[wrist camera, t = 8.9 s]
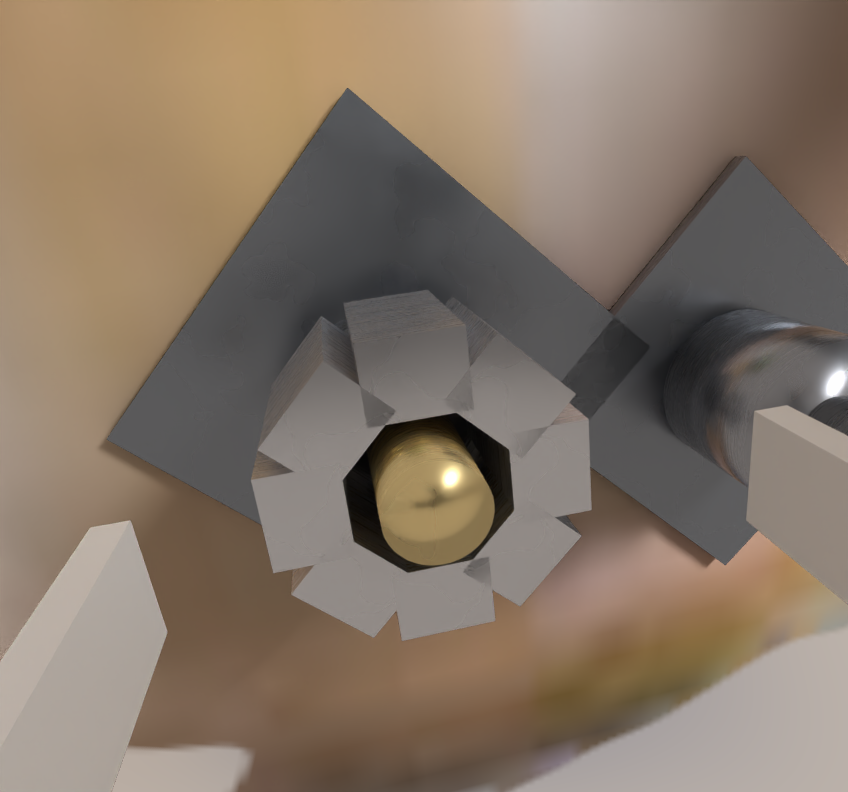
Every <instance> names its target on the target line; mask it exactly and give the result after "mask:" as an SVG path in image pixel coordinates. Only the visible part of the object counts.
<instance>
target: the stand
mask: <svg viewBox="0 0 848 792" xmlns="http://www.w3.org/2000/svg"><path fill="white" fill-rule="evenodd" d="M609 312H610V313H611V314H612V315H614V316H615V318H616V320H617V319H618V320H619V323H621V324H622V323H623V324H624V326H626V327H627V328H625V327H624V326H623V324H622V326H623V327H624V328H625V329H626V330H623V331H625V332H626V331H629V330H630V332H629V334H630V333H631V334H630V336H631V335H632V336H633V335H634V334H632V332H633V333H635V336H637V337H638V338H639V339H640V338H641V339H640V340H643V341H641V342H643V343H645V345H646V344H648V345H649V346H650V347H648V349H649V348H650V349H649V350H648V349H646V347H647V346H648V345H646V347H645V346H644V344H642V345H640V347H641V348H642V347H643V349H644V347H645V350H646V352H643V354H644V355H642V356H643V357H642V356H640V355H641V353H642V350H643V349H642V350H641V348H638V346H639V345H638V344H637V343H640V342H638V341H637V339H638V338H636V337H635V336H633V339H634V338H635V340H636V341H633V339H632V336H631V338H630V337H627V338H630V340H632V342H633V344H632V346H633V345H634V346H636V345H637V348H636V349H639V350H641V352H640V351H639V352H640V353H639V352H638V350H636V349H634V350H636V351H637V352H636V351H635V352H636V354H637V353H638V355H639V357H640V358H641V359H640V358H639V357H637V358H638V362H636V360H637V358H635V359H636V360H635V359H634V357H636V354H635V353H634V352H633V351H631V349H633V348H631V347H632V346H631V343H630V340H629V343H630V344H629V343H627V344H626V345H628V344H629V345H630V346H631V347H630V346H629V345H628V346H626V345H625V344H624V343H626V342H628V339H627V338H626V337H625V338H626V340H625V341H626V342H623V341H624V340H622V339H621V338H620V339H621V340H622V341H621V340H620V341H621V342H622V345H624V348H623V347H622V346H621V344H620V343H621V342H619V343H618V344H619V345H620V346H621V348H622V349H623V350H622V351H621V350H619V349H618V348H617V347H618V346H617V345H618V344H617V345H616V344H615V345H614V346H615V347H616V348H617V349H618V350H619V351H617V353H620V351H621V354H622V352H623V351H625V352H626V353H627V352H629V351H630V355H631V352H633V353H634V354H633V353H632V354H633V355H634V357H633V356H630V355H629V353H628V355H629V356H630V357H632V359H634V360H635V361H634V362H635V363H637V364H634V362H632V361H633V360H632V359H631V360H632V361H630V359H629V356H628V355H627V356H628V357H627V356H625V355H626V354H625V352H624V354H623V355H624V358H626V359H629V360H628V362H629V361H630V362H629V363H631V362H632V363H631V364H632V365H631V368H632V367H633V366H634V365H635V366H634V367H633V368H632V370H631V368H629V367H630V364H629V363H627V367H626V366H625V364H624V362H627V361H625V360H626V359H624V358H622V357H621V358H622V361H623V359H624V362H622V361H621V362H620V364H619V363H617V362H618V361H620V360H621V359H620V360H618V359H619V358H618V359H617V357H616V355H615V354H614V355H615V356H614V357H616V360H617V362H616V364H618V365H616V366H618V368H617V367H616V366H615V365H614V364H613V366H614V367H616V368H615V369H617V372H618V371H619V370H618V369H619V367H620V366H619V365H622V366H623V367H624V366H625V367H626V368H625V370H626V372H627V371H628V369H630V370H631V371H630V370H629V371H630V373H629V371H628V373H629V374H628V373H626V372H625V371H624V369H623V368H622V371H623V372H622V373H626V374H623V376H624V375H626V377H625V376H624V377H623V378H624V379H622V378H621V379H622V380H621V379H620V380H621V381H619V379H618V378H617V377H618V376H617V374H618V373H619V374H621V372H618V373H617V372H615V371H614V372H615V373H614V372H613V370H612V368H611V366H610V365H609V366H610V369H611V371H609V372H607V370H608V368H607V367H605V365H608V364H609V363H610V364H611V362H609V363H607V362H605V361H604V362H603V364H604V363H605V365H604V366H603V365H602V366H603V368H604V367H605V368H604V371H603V369H601V368H602V367H599V368H600V370H601V371H603V373H604V372H605V369H606V368H607V369H606V372H605V374H604V375H606V374H608V375H609V373H610V372H611V373H612V372H613V373H612V374H614V376H613V375H612V374H611V376H612V377H613V379H614V377H615V379H616V378H617V379H618V382H617V381H616V380H617V379H616V380H615V379H614V380H613V379H612V377H607V376H605V377H607V378H606V379H607V380H609V381H611V379H612V380H613V381H616V382H617V385H618V383H620V382H621V383H620V384H619V386H618V387H617V385H616V382H614V383H615V384H614V385H615V386H616V387H617V388H616V389H615V388H614V389H615V390H614V389H613V387H612V385H613V384H611V383H609V381H606V382H608V384H609V385H610V388H609V387H608V386H607V385H606V384H605V383H604V381H603V378H602V380H601V381H603V383H604V384H603V383H602V384H603V385H604V386H606V387H608V388H607V389H609V391H610V393H611V392H612V390H614V392H612V394H611V395H608V393H609V391H608V392H606V393H605V392H603V393H602V395H604V393H605V394H606V397H605V398H607V395H608V398H607V399H605V400H606V401H605V400H604V399H603V398H602V395H600V396H599V395H598V396H599V397H600V398H602V399H603V401H601V400H600V401H601V403H602V404H603V405H602V404H601V403H600V402H599V403H600V404H599V405H602V406H600V408H599V406H598V404H597V401H599V399H598V398H599V397H598V396H597V397H598V398H596V396H595V395H593V396H595V398H594V399H596V401H595V400H593V398H592V396H591V397H590V395H591V394H590V393H592V392H590V393H589V392H587V393H589V394H590V395H588V394H587V396H588V397H590V399H591V398H592V399H591V400H593V402H592V401H591V402H592V403H594V402H596V405H597V406H598V407H596V409H594V410H596V411H597V412H596V411H595V412H596V413H595V412H594V415H593V416H592V418H591V419H590V418H589V419H590V420H589V448H590V467H591V468H593V469H594V470H595V471H597V472H598V473H600V474H601V475H602V476H604V477H605V478H606V479H608V480H609V481H610V482H612V483H613V484H615V485H616V486H617V487H619V488H620V489H621V490H623V491H624V492H626V493H627V494H628V495H630V496H631V497H632V498H634V499H635V500H637V501H638V502H639V503H641V504H642V505H643V506H645V507H646V508H647V509H649V510H650V511H652V512H653V513H654V514H656V515H657V516H658V517H660V518H661V519H663V520H664V521H665V522H667V523H668V524H669V525H671V526H672V527H674V528H675V529H676V530H678V531H679V532H680V533H682V534H683V535H685V536H686V537H687V538H689V539H690V540H691V541H693V542H694V543H695V544H697V545H698V546H700V547H701V548H702V549H704V550H705V551H706V552H708V553H709V554H711V555H712V556H713V557H715V558H716V559H717V560H719V561H720V562H722V563H723V564H724V565H726V564H727V563H728V562H729V561H730V560H731V559H732V558H733V557H734V556H735V554H736V553H737V552H738V551H739V550H740V549H741V548H742V547H743V546H744V545H745V544H746V543H747V542H748V540H749V539H750V538H751V537H752V536H753V535H754V534H755V533H756V532H757V531H758V530H757V529H756V528H755V527H753V526H752V525H751V524H750V523H749V522H747V521H746V516H747V502H748V488H749V475H750V461H751V447H752V433H753V420H754V411H757V410H763V409H768V408H774V407H780V406H785V405H788V406H790V407H792V408H794V409H796V410H798V411H799V412H801V413H803V414H805V415H807V416H809V417H811V418H813V419H815V420H817V421H819V422H821V423H823V424H825V425H827V426H829V427H831V428H833V429H835V430H837V431H839V432H841V433H843V434H845V435H847V436H848V266H847V265H846V264H845V263H844V262H843V261H842V260H841V259H840V258H839V256H838V255H837V254H836V253H835V252H834V251H833V250H832V249H831V248H830V247H829V246H828V245H827V243H826V242H825V241H824V240H823V239H822V238H821V237H820V236H819V235H818V234H817V233H816V231H815V230H814V229H813V228H812V227H811V226H810V225H809V224H808V223H807V222H806V221H805V220H804V218H803V217H802V216H801V215H800V214H799V213H798V212H797V211H796V210H795V209H794V208H793V207H792V205H791V204H790V203H789V202H788V201H787V200H786V199H785V198H784V197H783V196H782V195H781V194H780V192H779V191H778V190H777V189H776V188H775V187H774V186H773V185H772V184H771V183H770V182H769V181H768V179H767V178H766V177H765V176H764V175H763V174H762V173H761V172H760V171H759V170H758V169H757V168H756V166H755V165H754V164H753V163H752V162H751V161H750V160H749V159H748V158H747V157H746V156H741V157H735V158H734V159H733V160H732V161H731V163H730V164H729V165H728V166H727V168H726V169H725V170H724V171H723V172H722V174H721V175H720V176H719V177H718V179H717V180H716V181H715V182H714V183H713V185H712V186H711V187H710V188H709V190H708V191H707V192H706V193H705V194H704V196H703V197H702V198H701V199H700V201H699V202H698V203H697V204H696V206H695V207H694V208H693V209H692V210H691V212H690V213H689V214H688V215H687V217H686V218H685V219H684V220H683V221H682V223H681V224H680V225H679V226H678V228H677V229H676V230H675V231H674V232H673V234H672V235H671V236H670V237H669V239H668V240H667V241H666V242H665V243H664V245H663V246H662V247H661V248H660V250H659V251H658V252H657V253H656V254H655V256H654V257H653V258H652V259H651V261H650V262H649V263H648V264H647V265H646V267H645V268H644V269H643V270H642V272H641V273H640V274H639V275H638V277H637V278H636V279H635V280H634V281H633V283H632V284H631V285H630V286H629V288H628V289H627V290H626V291H625V292H624V294H623V295H622V296H621V297H620V299H619V300H618V301H617V302H616V303H615V305H614V306H613V307H612V308H611V310H610V311H609ZM618 320H617V321H618ZM614 321H615V319H614ZM615 322H616V321H615ZM615 322H614V323H615ZM611 323H613V321H611V322H610V324H611ZM617 323H618V322H617ZM617 323H615V324H616V325H617V327H618V326H619V325H618V324H619V323H618V324H617ZM611 325H612V324H611ZM611 325H610V326H611ZM608 326H609V324H608ZM608 326H607V327H608ZM613 326H614V325H613ZM622 326H621V327H619V328H618V329H617V327H615V326H614V329H615V328H616V329H617V330H619V329H620V328H621V330H620V331H619V332H618V331H617V330H616V329H615V330H616V331H617V332H618V333H620V332H621V331H622V329H623V328H622ZM611 327H612V326H611ZM611 327H610V328H611ZM610 328H609V329H610ZM628 328H629V329H628ZM614 329H613V328H612V329H611V331H614V334H616V333H617V332H616V333H615V330H614ZM627 329H628V330H627ZM605 330H608V329H607V328H605ZM603 331H604V330H603ZM611 331H609V332H608V334H610V332H611ZM631 331H632V332H631ZM625 332H623V334H624V335H626V334H627V333H625ZM601 334H602V333H601ZM603 334H604V332H603ZM623 334H621V333H620V334H618V335H616V336H617V337H618V339H617V338H616V339H615V337H614V338H613V336H614V335H613V336H612V333H611V334H610V336H612V338H613V340H614V342H615V341H616V340H617V341H618V340H619V337H620V335H621V336H622V337H623V338H624V335H623ZM604 335H605V334H604ZM606 335H607V333H606ZM600 336H602V337H603V335H600ZM607 336H608V335H607ZM607 336H604V337H605V341H604V342H605V343H604V347H605V346H606V348H607V347H608V346H607V345H605V344H607V342H608V340H610V342H611V344H612V342H613V340H612V339H610V337H609V338H608V337H607ZM626 336H628V334H627V335H626ZM604 337H603V338H602V339H601V340H599V343H597V342H598V341H597V342H596V340H595V342H596V343H597V344H600V341H601V343H603V341H602V340H604ZM597 338H598V337H597ZM600 338H601V337H600ZM606 338H608V340H607V339H606ZM598 339H599V338H598ZM639 339H638V340H639ZM606 340H607V342H606ZM636 342H637V343H636ZM634 343H635V344H634ZM592 344H593V346H594V344H595V343H592ZM597 344H596V345H597ZM608 344H609V342H608ZM596 345H595V346H596ZM600 345H601V344H600ZM600 345H598V346H600ZM609 345H610V344H609ZM591 346H592V345H591ZM591 346H590V347H591ZM593 346H592V347H593ZM610 346H611V345H610ZM620 346H619V348H620ZM625 346H626V347H628V349H629V348H630V349H629V350H628V349H627V350H628V351H626V348H625ZM634 346H633V347H634ZM600 347H601V346H600ZM612 347H613V345H612V346H611V348H612ZM611 348H610V350H609V348H608V350H609V351H610V352H611V353H612V352H613V353H614V352H615V351H616V350H617V349H615V350H614V351H613V350H612V351H611ZM590 349H592V350H593V349H594V347H593V348H590ZM596 349H597V350H598V349H599V347H597V348H596ZM596 349H595V351H596V352H595V351H594V350H593V351H594V352H595V353H596V354H597V356H599V358H600V360H601V361H602V359H603V358H602V357H603V356H602V357H600V356H601V355H598V353H597V350H596ZM613 349H614V347H613ZM624 349H625V350H624ZM587 350H588V351H589V352H588V353H590V352H591V351H590V350H589V348H588V349H587ZM600 350H604V352H605V350H606V349H605V348H603V346H602V349H600ZM647 350H648V351H647ZM601 352H602V351H601ZM601 352H600V353H601ZM607 352H608V351H607ZM607 352H605V353H606V354H607ZM610 352H609V353H610ZM585 353H586V354H587V351H586V352H585ZM600 353H599V354H600ZM611 353H610V355H613V354H611ZM617 353H616V354H617ZM591 354H592V352H591ZM591 354H588V355H590V356H591ZM593 354H594V353H593ZM593 354H592V356H593ZM601 354H602V355H604V354H603V353H601ZM606 354H605V355H606ZM621 354H617V356H618V355H619V357H620V356H621ZM605 355H604V358H606V357H605ZM608 355H609V354H608ZM608 355H607V356H608ZM638 355H637V356H638ZM584 356H586V355H585V354H584ZM590 356H588V359H589V358H590ZM592 356H591V357H592ZM597 356H596V357H597ZM593 357H594V358H595V359H596V357H595V354H594V356H593ZM609 357H610V356H609ZM614 357H613V358H612V357H610V359H608V358H606V360H611V358H612V360H613V359H614V360H615V358H614ZM584 358H585V357H584ZM584 358H583V359H584ZM599 358H598V359H596V360H598V361H599V363H595V361H593V360H592V361H593V362H594V363H595V366H596V364H598V365H599V364H600V362H601V361H600V360H599ZM580 359H582V358H580ZM583 359H582V360H581V361H582V363H584V364H585V362H584V361H583ZM588 359H587V358H585V360H588ZM591 359H593V358H591ZM595 359H594V360H595ZM589 360H590V359H589ZM590 361H591V360H590ZM590 361H589V362H590ZM589 362H588V361H587V363H588V364H590V365H591V363H592V362H590V363H589ZM596 362H597V361H596ZM613 362H614V363H615V361H613ZM578 363H580V360H579V361H578ZM587 363H586V364H587ZM594 363H592V365H591V366H593V365H594ZM601 363H602V362H601ZM621 363H622V364H621ZM586 364H585V366H586ZM588 364H587V367H588V368H589V367H590V368H591V366H590V365H589V366H588ZM623 364H624V365H623ZM628 364H629V365H628ZM579 365H582V364H579ZM579 365H578V366H577V365H576V364H575V366H576V369H577V368H578V367H579ZM611 365H612V364H611ZM595 366H593V368H594V367H595ZM599 366H601V365H599ZM582 367H583V368H584V365H582ZM597 367H598V366H597ZM574 368H575V367H573V369H574ZM588 368H587V369H586V367H585V368H584V370H585V369H586V370H587V371H588ZM599 368H597V369H599ZM627 368H628V369H627ZM573 369H571V370H572V371H571V370H570V371H571V372H572V373H573V374H572V373H571V374H572V376H571V378H572V379H574V378H573V377H574V376H575V378H576V376H577V375H576V374H577V373H576V374H574V373H575V372H573ZM581 369H582V368H581ZM597 369H595V371H596V370H597ZM613 369H614V368H613ZM577 370H578V369H577ZM577 370H576V372H580V371H581V370H580V367H579V370H580V371H577ZM586 370H585V371H586ZM620 370H621V368H620ZM574 371H575V369H574ZM587 371H586V372H587ZM591 371H592V370H591ZM595 371H594V370H593V371H592V372H591V373H593V372H594V373H595ZM598 371H599V370H597V372H598ZM583 372H584V371H582V372H580V373H581V374H580V373H579V374H580V375H582V373H583ZM589 372H590V371H589ZM589 372H587V373H589ZM597 372H596V373H597ZM584 373H585V372H584ZM584 373H583V374H584ZM591 373H589V376H590V375H591ZM594 373H593V374H594ZM596 373H595V374H594V375H596ZM598 373H599V372H598ZM601 373H602V372H601ZM616 373H617V374H616ZM579 374H578V375H579ZM593 374H592V375H591V377H592V378H593V380H594V378H595V377H593V376H594V375H593ZM627 374H628V375H627ZM568 375H569V376H570V374H569V373H568ZM573 375H574V376H573ZM584 375H586V373H585V374H584ZM587 375H588V374H587ZM615 375H616V376H617V377H616V376H615ZM599 376H601V374H600V373H599ZM599 376H598V375H597V376H596V377H599ZM602 376H603V374H602ZM602 376H601V377H602ZM619 376H620V375H619ZM580 377H581V376H579V379H578V380H580ZM583 377H584V376H583ZM586 377H587V376H586ZM601 377H600V378H601ZM603 377H604V376H603ZM621 377H622V375H621ZM567 378H569V377H568V376H567V377H566V379H567ZM581 378H582V377H581ZM588 378H589V377H587V380H586V379H584V381H585V380H586V383H587V381H588V380H590V383H592V381H591V379H590V378H589V379H588ZM609 378H610V379H609ZM564 379H565V378H564ZM598 379H599V378H598ZM598 379H597V380H598ZM604 379H605V378H604ZM606 379H605V380H606ZM567 380H568V379H567ZM570 380H571V379H569V382H570ZM575 380H576V379H575ZM582 380H583V379H582ZM582 380H580V381H582ZM595 380H596V379H595ZM597 380H596V382H597ZM599 380H600V379H599ZM563 381H564V380H562V382H563ZM573 381H574V380H573ZM576 381H577V380H576ZM564 382H565V381H564ZM569 382H568V384H569ZM571 382H572V380H571ZM571 382H570V383H571ZM599 382H600V381H598V383H599ZM611 382H612V381H611ZM577 383H578V382H576V384H577ZM580 383H582V382H580ZM586 383H582V385H584V384H586ZM590 383H589V382H588V386H589V384H590ZM600 383H601V382H600ZM612 383H613V382H612ZM566 384H567V381H566ZM568 384H567V385H568ZM572 384H575V383H574V382H572ZM576 384H575V386H574V385H573V387H576ZM594 384H596V383H595V382H594V381H593V384H592V386H593V385H594ZM570 385H571V384H569V386H570ZM580 385H581V384H580ZM580 385H579V384H577V386H579V387H580V389H579V390H576V392H577V391H580V390H581V388H582V386H580ZM597 385H598V384H597ZM584 386H585V385H584ZM586 386H587V385H586ZM586 386H585V388H589V387H588V386H587V387H586ZM598 386H600V387H602V388H604V391H605V388H606V387H604V386H601V385H598ZM571 387H572V385H571ZM571 387H570V388H571ZM573 387H572V388H573ZM579 387H578V388H579ZM590 387H591V384H590ZM576 388H577V387H576ZM593 388H594V386H593ZM593 388H592V387H591V390H593ZM611 388H612V390H611ZM583 389H584V388H582V391H584V396H585V394H586V393H585V392H586V391H585V390H589V391H591V390H590V389H585V390H583ZM597 389H598V388H596V390H593V391H595V392H593V393H596V394H598V392H600V393H601V391H599V390H600V389H601V388H600V389H598V392H596V391H597ZM574 390H575V389H574ZM601 390H602V389H601ZM572 391H573V389H572ZM582 391H580V392H578V393H581V392H582ZM606 391H607V390H606ZM574 393H575V391H574ZM578 393H577V394H576V393H575V394H576V397H578V396H577V395H578ZM593 393H592V394H593ZM582 395H583V392H582V394H581V395H580V396H582ZM584 396H583V397H584ZM587 396H585V397H587ZM604 396H605V395H604ZM604 396H603V397H604ZM574 398H575V397H574ZM581 398H582V397H581ZM575 399H576V398H575ZM575 399H574V400H575ZM585 399H586V400H587V398H585ZM585 399H583V398H582V399H581V400H583V401H585ZM590 399H589V400H587V401H588V402H589V401H590ZM577 400H578V399H576V401H577ZM571 401H573V399H571ZM576 401H573V402H576ZM579 401H580V400H579ZM579 401H577V402H579ZM604 401H605V402H604ZM569 403H570V402H569ZM583 403H585V402H583ZM589 403H590V402H589ZM570 404H571V403H570ZM574 404H575V403H574ZM579 404H580V406H581V402H579ZM585 404H586V403H585ZM590 404H591V403H590ZM590 404H589V406H590ZM571 405H572V404H571ZM577 405H578V403H577V404H576V406H577ZM586 405H588V403H587V404H586ZM574 406H575V405H574ZM576 406H575V408H576ZM578 406H579V405H578ZM580 406H579V408H580ZM583 406H585V405H582V407H583ZM591 406H592V404H591ZM591 406H590V407H591ZM582 407H581V408H582ZM586 407H587V408H589V407H588V406H586ZM586 407H583V409H584V408H585V409H586ZM592 407H593V406H592ZM593 408H595V406H594V407H593ZM593 408H592V409H593ZM597 408H599V409H598V410H597ZM576 409H577V410H578V411H580V410H581V413H584V411H583V410H582V409H580V410H579V409H578V407H577V408H576ZM589 409H590V408H589ZM587 410H588V409H586V411H587ZM594 410H593V411H594ZM591 411H592V410H591ZM593 411H592V412H593ZM588 412H589V410H588ZM588 412H587V414H588V415H586V414H585V413H586V412H585V413H584V415H585V416H589V415H590V414H589V413H588ZM590 413H591V412H590ZM590 416H591V415H590ZM587 418H588V417H587Z"/></svg>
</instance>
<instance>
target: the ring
mask: <svg viewBox="0 0 848 792" xmlns="http://www.w3.org/2000/svg"><path fill="white" fill-rule="evenodd" d="M343 303H344V309H345V315H346V321H347V327H348V333H349V335H348V334H346V333H345V332H344V331H342V330H341V329H339V328H338V327H337V326H335V325H334V324H332V323H331V322H329V321H328V320H327V319H325V318H324V317H322V316H321V317H320V318H319V319H318V321H317V322H316V324H315V325H314V326H313V328H312V329H311V330H310V332H309V333H308V335H307V336H306V337H305V339H304V340H303V341H302V343H301V344H300V346H299V347H298V348H297V350H296V351H295V352H294V354H293V355H292V357H291V358H290V359H289V361H288V362H287V363H286V365H285V366H284V368H283V369H282V370H281V372H280V373H279V374H278V376H277V377H276V379H275V380H274V381H273V383H272V386H271V391H270V395H269V400H268V404H267V409H266V413H265V418H264V422H263V427H262V431H261V436H260V440H259V445H258V449H257V455H256V459H255V464H254V468H253V473H252V477H251V483H252V487H253V491H254V495H255V499H256V503H257V507H258V512H259V516H260V520H261V524H262V528H263V532H264V536H265V541H266V545H267V549H268V553H269V557H270V561H271V566H272V570H273V573H277V572H282V571H287V570H292V569H293V572H292V588H291V595H292V596H294V597H296V598H298V599H300V600H302V601H304V602H306V603H308V604H310V605H312V606H314V607H316V608H317V609H319V610H321V611H323V612H325V613H327V614H329V615H331V616H333V617H335V618H337V619H339V620H340V621H342V622H344V623H346V624H348V625H350V626H352V627H354V628H356V629H358V630H360V631H362V632H364V633H365V634H367V635H369V636H371V637H373V638H374V637H375V636H376V635H377V633H378V632H379V631H380V630H381V629H382V627H383V626H384V625H385V624H386V623H387V621H388V620H389V619H390V618H391V616H392V615H393V614H394V613H395V612H397V617H398V623H399V628H400V633H401V638H402V641H405V640H409V639H414V638H419V637H423V636H428V635H433V634H437V633H442V632H447V631H451V630H456V629H461V628H465V627H470V626H474V625H479V624H484V623H488V622H493V621H495V611H494V601H493V591H495V592H497V593H498V594H500V595H502V596H503V597H505V598H507V599H508V600H510V601H512V602H513V603H515V604H517V605H518V606H521V605H522V604H523V603H524V602H525V600H526V599H527V598H528V597H529V596H530V595H531V594H532V592H533V591H534V590H535V589H536V588H537V587H538V585H539V584H540V583H541V582H542V581H543V580H544V579H545V577H546V576H547V575H548V574H549V573H550V572H551V571H552V569H553V568H554V567H555V566H556V565H557V564H558V563H559V561H560V560H561V559H562V558H563V557H564V556H565V554H566V553H567V552H568V551H569V550H570V549H571V548H572V546H573V545H574V544H575V543H576V542H577V541H578V540H579V538H580V537H581V534H580V533H579V532H578V530H577V529H576V528H575V526H574V525H573V524H572V522H571V521H570V520H569V518H568V517H567V516H566V515H570V514H575V513H580V512H585V511H590V510H592V507H591V477H590V448H589V419H588V418H587V417H585V416H584V415H583V414H582V413H581V412H580V411H578V410H577V409H576V408H575V407H574V406H573V405H571V404H570V403H569V402H570V401H571V399H572V398H573V397H574V396H575V395H576V394H575V393H574V392H573V391H572V390H570V389H569V388H568V387H567V386H565V385H564V384H563V383H562V382H560V381H559V380H558V379H557V378H555V377H554V376H553V375H552V374H550V373H549V372H548V371H547V370H545V369H544V368H543V367H542V366H540V365H539V364H538V363H537V362H535V361H534V360H533V359H532V358H530V357H529V356H528V355H527V354H525V353H524V352H523V351H522V350H520V349H519V348H518V347H517V346H515V345H514V344H513V343H512V342H510V341H509V340H508V339H506V338H505V337H504V336H503V335H501V334H500V333H499V332H497V331H496V330H495V329H494V328H492V327H491V326H490V325H488V324H487V323H486V322H485V321H483V320H482V319H481V318H479V317H478V316H477V315H476V314H474V313H473V312H472V311H470V310H469V309H468V308H467V307H465V306H464V305H463V304H461V303H460V302H459V301H458V300H456V299H455V298H454V297H452V296H451V297H450V299H449V300H448V301H447V302H446V304H445V305H444V304H442V303H441V302H440V301H439V300H438V299H437V298H436V297H435V296H434V295H433V294H432V293H431V292H430V291H428V290H422V291H416V292H409V293H402V294H396V295H389V296H382V297H376V298H369V299H363V300H356V301H349V302H343ZM452 413H458V414H459V415H460V416H462V417H463V418H465V419H466V420H467V429H468V435H467V437H466V438H465V439H464V440H463V442H464V444H465V446H466V448H467V449H468V451H469V453H470V455H471V456H472V458H473V460H474V462H475V463H476V465H477V467H478V468H479V470H480V472H481V474H482V475H483V477H484V479H485V481H486V482H487V484H488V486H489V488H490V490H491V492H492V495H493V499H494V506H495V512H494V519H493V523H492V526H491V528H490V530H489V532H488V534H487V536H486V537H485V539H484V540H483V541H482V543H481V544H480V545H479V546H478V547H477V548H476V549H475V550H473V551H472V552H471V553H469V554H468V555H466V556H465V557H463V558H461V559H459V560H456V561H454V562H451V563H447V564H442V565H422V564H417V563H414V562H411V561H408V560H406V559H404V558H403V557H401V556H400V555H398V554H397V553H396V552H395V551H394V550H393V549H392V548H391V547H390V546H389V545H388V543H387V541H386V540H385V538H384V535H383V533H382V529H381V524H380V519H379V514H378V508H377V503H376V498H375V492H374V487H373V482H372V477H371V473H370V472H368V471H367V470H365V469H363V468H362V467H360V466H359V465H357V464H356V462H357V461H358V460H359V458H360V457H361V456H362V455H363V453H364V452H365V451H366V449H367V448H368V447H369V446H370V444H371V443H372V442H373V440H374V439H375V438H376V436H377V435H378V434H379V433H380V431H381V430H382V429H383V427H384V426H385V425H389V424H395V423H400V422H406V421H412V420H417V419H423V418H429V417H435V416H440V415H446V414H452ZM492 590H493V591H492Z"/></svg>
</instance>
